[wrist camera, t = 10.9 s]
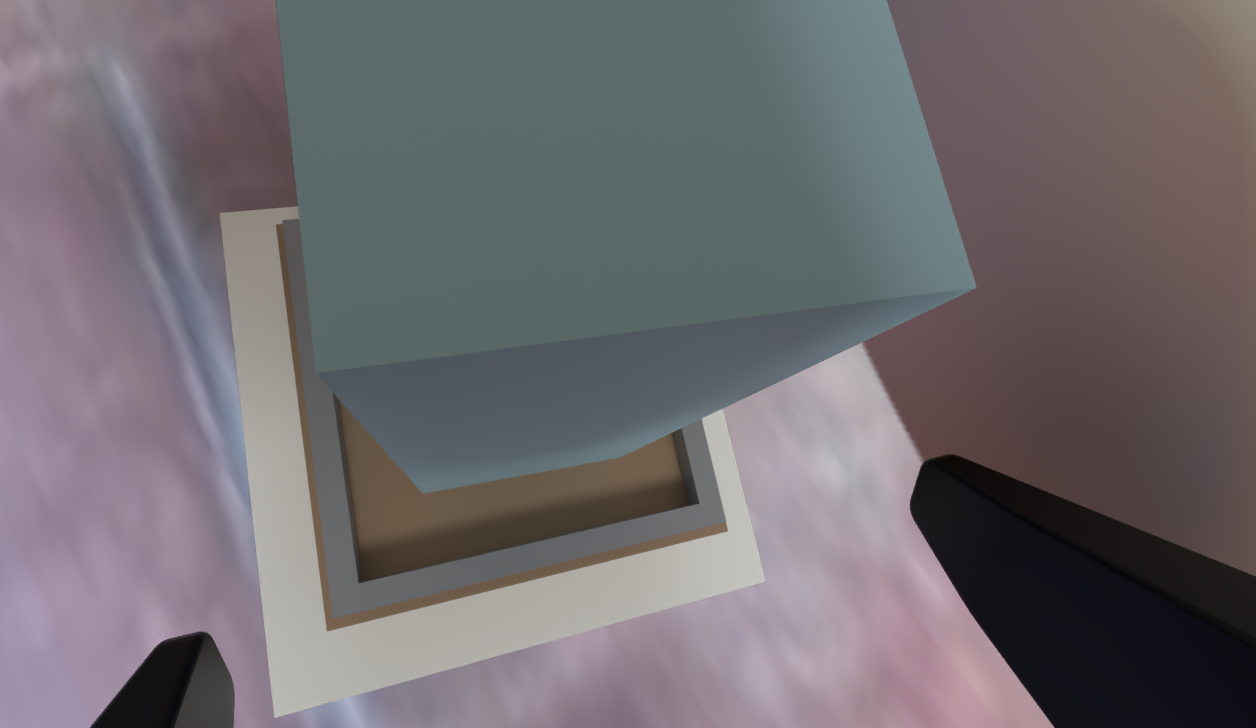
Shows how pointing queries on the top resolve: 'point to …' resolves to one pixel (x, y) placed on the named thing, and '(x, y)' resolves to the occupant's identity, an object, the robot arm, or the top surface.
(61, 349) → the top surface
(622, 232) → the pillar
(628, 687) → the top surface
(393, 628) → the build base
